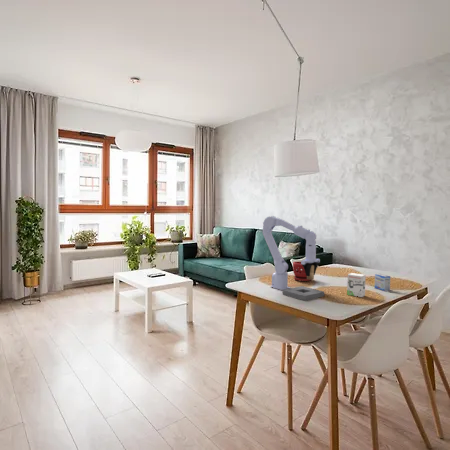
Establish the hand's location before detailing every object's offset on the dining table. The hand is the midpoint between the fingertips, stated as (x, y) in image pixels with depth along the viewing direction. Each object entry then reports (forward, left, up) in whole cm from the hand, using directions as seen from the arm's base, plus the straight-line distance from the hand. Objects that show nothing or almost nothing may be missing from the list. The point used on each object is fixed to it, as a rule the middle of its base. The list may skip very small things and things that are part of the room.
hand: (310, 275), depth 203 cm
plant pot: (-22, +19, -9) cm, 30 cm away
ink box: (+22, +13, -9) cm, 27 cm away
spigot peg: (0, 0, -2) cm, 2 cm away
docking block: (+5, -11, -9) cm, 15 cm away
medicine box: (+23, +38, -9) cm, 45 cm away
